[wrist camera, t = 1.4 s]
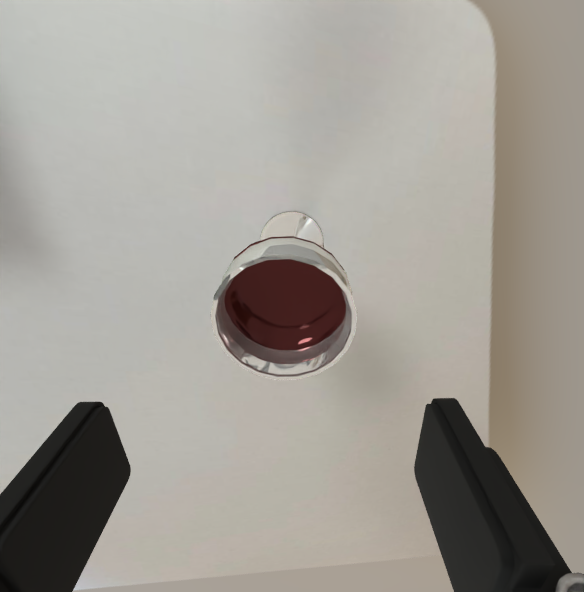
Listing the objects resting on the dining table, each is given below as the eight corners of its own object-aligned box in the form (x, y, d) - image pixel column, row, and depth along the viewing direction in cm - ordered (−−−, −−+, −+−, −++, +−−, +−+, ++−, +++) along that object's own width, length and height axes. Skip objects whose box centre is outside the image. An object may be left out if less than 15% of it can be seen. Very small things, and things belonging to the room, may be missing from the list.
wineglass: (294, 298, 28) (288, 402, 17) (230, 245, 26) (180, 325, 15) (353, 241, 25) (390, 320, 15) (288, 179, 24) (276, 218, 13)
